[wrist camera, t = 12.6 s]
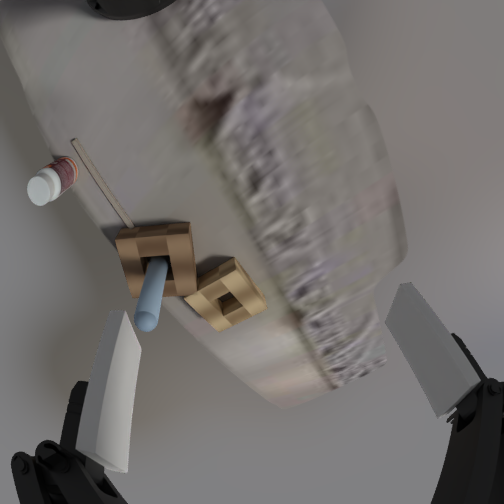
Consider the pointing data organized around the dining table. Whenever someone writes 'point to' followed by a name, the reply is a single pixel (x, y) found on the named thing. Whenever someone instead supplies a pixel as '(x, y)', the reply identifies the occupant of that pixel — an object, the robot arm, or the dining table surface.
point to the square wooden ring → (156, 244)
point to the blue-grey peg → (151, 293)
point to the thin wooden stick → (102, 183)
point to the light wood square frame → (220, 283)
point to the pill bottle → (52, 180)
